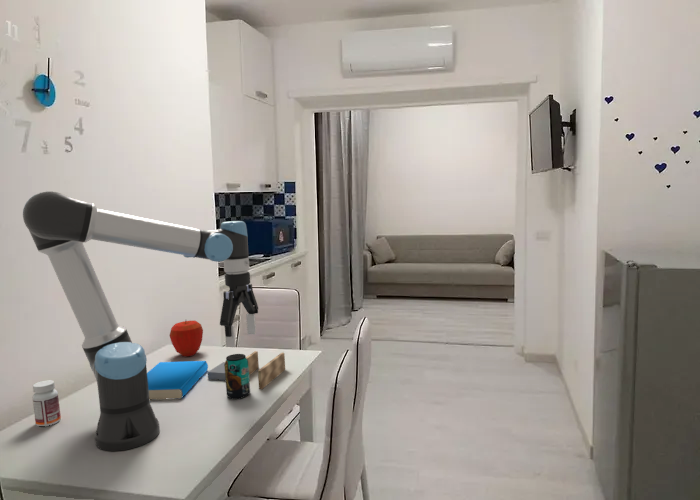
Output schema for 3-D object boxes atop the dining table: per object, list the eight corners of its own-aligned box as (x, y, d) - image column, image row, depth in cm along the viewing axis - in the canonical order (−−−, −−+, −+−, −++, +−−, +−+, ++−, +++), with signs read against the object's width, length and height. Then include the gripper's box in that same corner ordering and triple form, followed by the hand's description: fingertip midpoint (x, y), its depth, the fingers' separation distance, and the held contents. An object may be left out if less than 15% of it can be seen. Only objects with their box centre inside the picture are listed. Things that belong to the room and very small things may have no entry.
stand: (235, 381, 173) (234, 373, 172) (208, 379, 175) (207, 372, 175) (249, 370, 182) (249, 363, 182) (223, 369, 185) (223, 362, 185)
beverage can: (222, 396, 160) (219, 357, 159) (241, 388, 166) (238, 351, 164) (236, 401, 156) (233, 362, 154) (255, 394, 161) (252, 355, 160)
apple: (197, 348, 212) (194, 313, 210) (210, 354, 202) (207, 318, 201) (166, 355, 204) (163, 319, 202) (178, 362, 195) (175, 324, 193)
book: (126, 389, 160) (158, 361, 185) (128, 403, 161) (160, 373, 185) (183, 387, 159) (207, 359, 184) (184, 401, 160) (208, 371, 185)
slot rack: (261, 389, 164) (260, 370, 164) (230, 387, 167) (228, 368, 167) (285, 369, 181) (284, 352, 181) (256, 367, 185) (255, 351, 184)
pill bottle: (63, 416, 151) (59, 378, 150) (57, 425, 145) (52, 385, 144) (39, 419, 149) (34, 380, 148) (32, 429, 143) (27, 388, 142)
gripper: (227, 279, 148) (232, 353, 151) (266, 265, 172) (270, 329, 175) (203, 279, 151) (209, 351, 153) (245, 265, 174) (249, 328, 177)
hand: (241, 340), depth 164 cm, fingers open, 13 cm apart
